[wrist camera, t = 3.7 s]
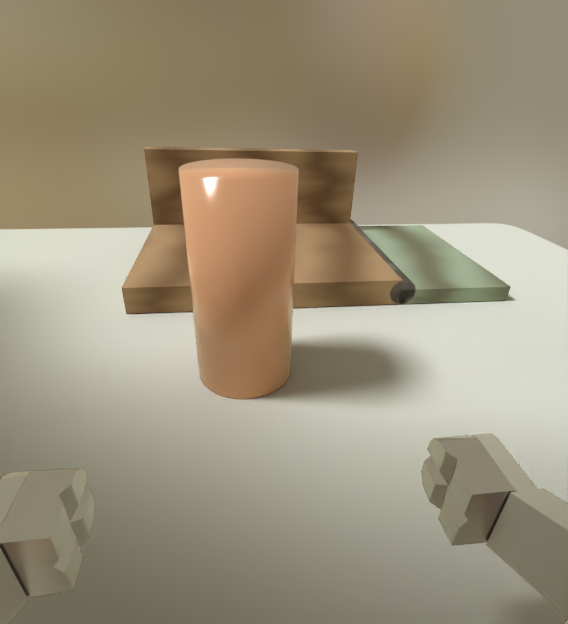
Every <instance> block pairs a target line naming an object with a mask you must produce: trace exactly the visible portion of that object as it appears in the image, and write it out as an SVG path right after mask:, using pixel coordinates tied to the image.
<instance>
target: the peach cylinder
mask: <svg viewBox="0 0 568 624" xmlns="http://www.w3.org/2000/svg"><path fill="white" fill-rule="evenodd" d="M298 173H299V169H298V168H297V167H295V166H293V165H291V164H287V163H283V162H278V161H271V160H261V159H238V158H235V159H211V160H202V161H196V162H191V163H187V164H184V165H182V166H180V167H179V178H180V188H181V198H182V208H183V218H184V227H185V237H186V247H187V257H188V267H189V277H190V287H191V296H192V306H193V316H194V326H195V336H196V346H197V356H198V365H199V375H200V379H201V381H202V382H203V384H204V385H205V386H206V387H207V388H208V389H209V390H211V391H212V392H214V393H216V394H218V395H221V396H224V397H228V398H234V399H250V398H257V397H261V396H264V395H267V394H270V393H272V392H274V391H275V390H277V389H279V388H280V387H281V386H282V385H283V384H284V383H285V382H286V381H287V379H288V377H289V374H290V364H291V340H292V316H293V292H294V268H295V245H296V221H297V197H298Z"/></svg>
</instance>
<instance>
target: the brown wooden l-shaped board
mask: <svg viewBox="0 0 568 624" xmlns="http://www.w3.org/2000/svg"><path fill="white" fill-rule="evenodd" d="M144 152H145V159H146V167H147V175H148V182H149V190H150V198H151V205H152V213H153V221H154V226H153V228H152V230H151V232H150V234H149V236H148V238H147V239H146V241H145V243H144V245H143V247H142V249H141V251H140V253H139V255H138V257H137V259H136V261H135V263H134V265H133V267H132V269H131V271H130V273H129V275H128V277H127V279H126V280H125V282H124V284H123V286H122V292H123V298H124V303H125V309H126V314H130V313H159V312H187V311H193V306H192V296H191V287H190V277H189V267H188V257H187V247H186V237H185V227H184V218H183V208H182V198H181V188H180V178H179V167H180V166H182V165H184V164H187V163H191V162H196V161H202V160H211V159H235V158H238V159H261V160H271V161H278V162H283V163H287V164H291V165H293V166H295V167H297V168H298V169H299V173H298V197H297V221H296V245H295V268H294V292H293V308H301V307H329V306H358V305H386V304H415V303H443V302H472V301H500V300H506V299H507V296H508V293H509V290H510V286H509V285H507V284H506V283H505V282H503V281H502V280H500V279H499V278H497V277H496V276H494V275H493V274H492V273H490V272H489V271H487V270H486V269H484V268H483V267H482V266H480V265H479V264H477V263H476V262H474V261H473V260H471V259H470V258H469V257H467V256H466V255H464V254H463V253H461V252H460V251H458V250H457V249H456V248H454V247H453V246H451V245H450V244H448V243H447V242H446V241H444V240H443V239H441V238H440V237H438V236H437V235H435V234H434V233H433V232H431V231H430V230H428V229H427V228H425V227H424V226H357V225H356V224H355V223H354V222H353V221H352V220H351V219H350V217H351V208H352V200H353V191H354V182H355V173H356V164H357V156H358V152H356V151H354V150H310V149H309V150H307V149H250V148H246V149H245V148H189V147H186V148H184V147H146V148H145V149H144Z"/></svg>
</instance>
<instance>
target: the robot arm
mask: <svg viewBox="0 0 568 624" xmlns="http://www.w3.org/2000/svg"><path fill="white" fill-rule="evenodd" d="M427 450H428V452H429V453H430V455H431V456H430V457H429V458H428V459H426V460H425V461H424V463H423V467H422V471H421V473H422V483H423V487H424V490H425V493H426V495H427V497H428V499H429V501H430V502H431V503H432V504H434V505H435V506H436V507H438V508H439V509H440V512H439V517H438V519H439V521H440V523H441V525H442V527H443V529H444V531H445V533H446V535H447V537H448V539H449V541H450V543H451V545H452V546H453V545H464V544H476V543H487V544H486V545H487V546H488V547H489V548H490V549H492V550H493V551H494V552H495V553H496V554H497V555H498V556H499V557H500V558H502V559H503V560H504V561H505V562H506V563H507V564H508V565H509V566H510V567H512V568H513V569H514V570H515V571H516V572H517V573H518V574H519V575H520V576H521V577H523V578H524V579H525V580H526V581H527V582H528V583H529V584H530V585H531V586H533V587H534V588H535V589H536V590H537V591H538V592H539V593H540V594H541V595H543V596H544V597H545V598H546V599H547V600H548V601H549V602H550V603H551V604H552V605H554V606H555V607H556V608H557V609H558V610H559V611H560V612H561V613H562V614H564V615H565V616H566V617H567V618H568V503H566V502H565V501H563V500H561V499H560V498H558V497H557V496H555V495H553V494H552V493H550V492H548V491H547V490H545V489H537V487H536V486H535V485H534V484H533V482H532V481H531V480H530V479H529V477H528V476H527V475H526V473H525V472H524V471H523V470H522V468H521V467H520V466H519V465H518V463H517V462H516V461H515V460H514V458H513V457H512V456H511V454H510V453H509V452H508V451H507V449H506V448H505V447H504V446H503V444H502V443H501V442H500V441H499V439H498V438H497V437H496V436H494V435H493V434H480V435H471V436H470V435H465V436H454V437H444V438H434V439H432V440H431V441H430V442H429V446H428V449H427ZM87 479H88V478H87V475H86V473H85V470H84V469H83V468H76V469H58V470H41V471H27V472H12V473H7V474H6V475H5V476H3V477H2V478H1V479H0V624H9V623H10V622H11V620H12V619H13V618H14V617H15V616H16V614H17V613H18V612H19V611H20V610H21V608H22V607H23V606H24V605H25V604H26V602H27V601H28V598H27V597H34V596H40V595H47V594H54V593H61V592H67V591H73V589H74V585H75V582H76V579H77V576H78V572H79V569H80V566H81V563H82V559H83V556H82V553H81V550H80V546H81V545H82V544H83V543H84V542H85V541H86V539H87V538H88V537H89V536H90V533H91V529H92V525H93V520H94V511H95V506H94V498H93V494H92V492H91V491H90V490H88V489H87V488H85V485H86V482H87ZM564 624H568V619H567V621H566V622H565V623H564Z"/></svg>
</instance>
